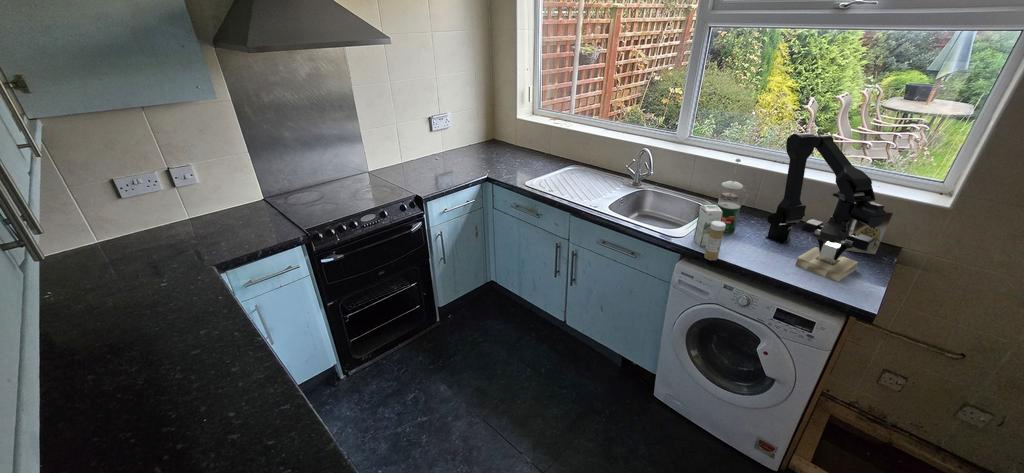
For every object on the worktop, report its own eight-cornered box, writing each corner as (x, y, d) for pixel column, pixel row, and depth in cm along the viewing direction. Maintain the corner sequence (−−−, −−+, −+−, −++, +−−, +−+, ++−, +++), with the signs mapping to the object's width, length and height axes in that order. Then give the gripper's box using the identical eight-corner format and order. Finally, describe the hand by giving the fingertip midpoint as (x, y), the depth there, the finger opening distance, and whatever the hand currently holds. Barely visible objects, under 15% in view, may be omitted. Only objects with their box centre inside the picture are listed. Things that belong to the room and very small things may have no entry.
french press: (710, 210, 189) (722, 154, 177) (738, 211, 187) (752, 155, 176) (716, 219, 180) (729, 161, 169) (745, 221, 179) (761, 162, 167)
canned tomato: (731, 226, 174) (737, 201, 169) (736, 235, 167) (743, 209, 162) (710, 225, 175) (715, 200, 170) (715, 234, 168) (721, 208, 163)
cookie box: (845, 250, 155) (861, 209, 148) (840, 243, 161) (855, 202, 154) (876, 254, 153) (893, 213, 145) (869, 246, 158) (886, 206, 151)
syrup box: (708, 239, 164) (715, 204, 158) (714, 246, 159) (723, 210, 153) (693, 239, 164) (700, 204, 158) (699, 247, 159) (707, 210, 152)
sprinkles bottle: (710, 253, 154) (717, 219, 148) (720, 259, 151) (729, 224, 145) (700, 256, 153) (708, 221, 147) (711, 262, 149) (719, 227, 143)
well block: (794, 265, 147) (797, 257, 145) (812, 254, 153) (815, 246, 152) (838, 282, 137) (841, 274, 136) (855, 269, 144) (858, 261, 142)
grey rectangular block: (816, 262, 145) (823, 243, 142) (822, 258, 147) (829, 240, 144) (830, 267, 142) (837, 248, 139) (835, 263, 144) (842, 245, 141)
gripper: (800, 210, 139) (787, 252, 146) (868, 231, 125) (850, 276, 133) (816, 202, 145) (802, 243, 152) (883, 221, 131) (865, 266, 138)
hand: (828, 257), depth 143 cm, fingers open, 4 cm apart
